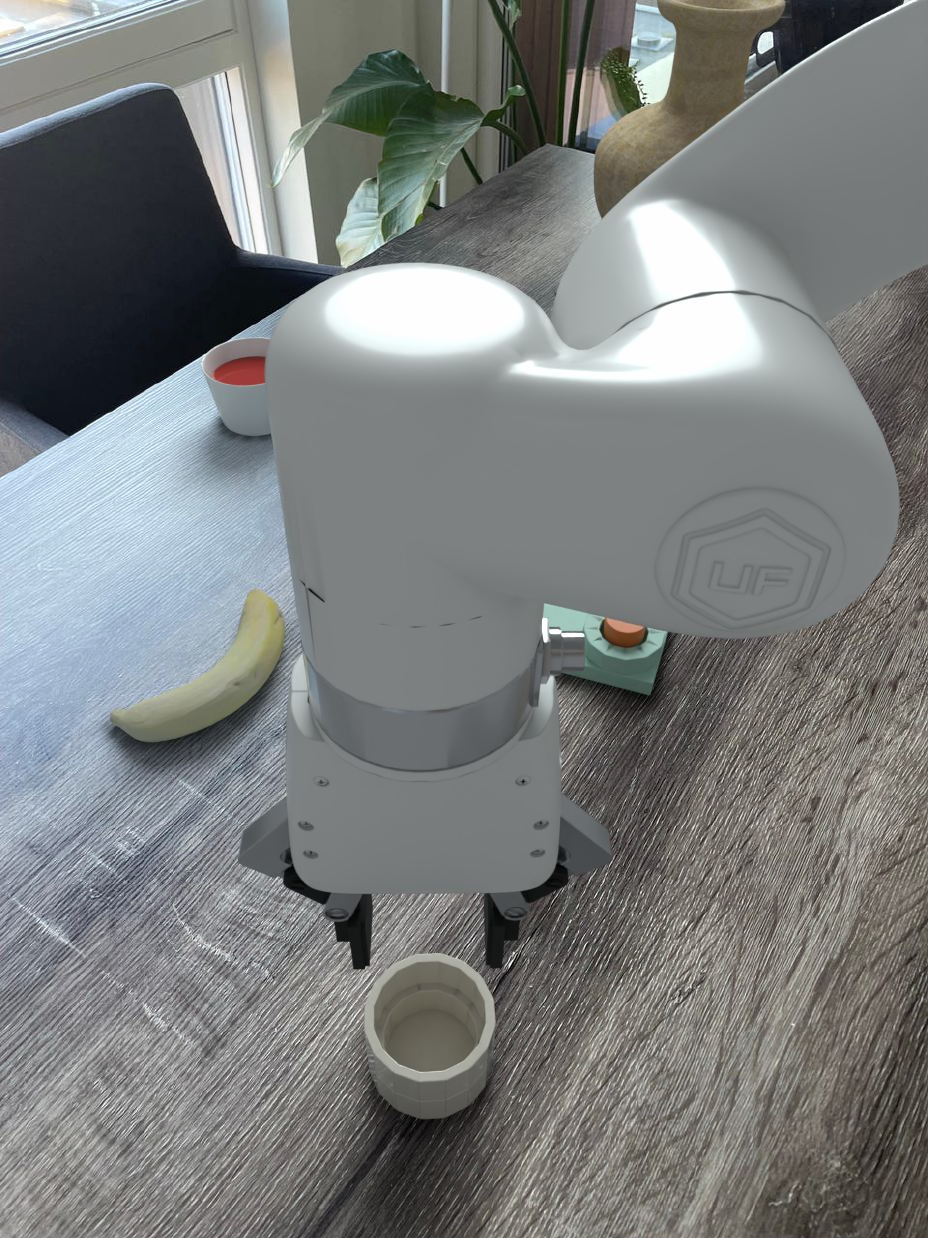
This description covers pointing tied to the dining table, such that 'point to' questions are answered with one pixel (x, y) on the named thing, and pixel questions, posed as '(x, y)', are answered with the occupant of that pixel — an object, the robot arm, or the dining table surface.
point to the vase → (684, 91)
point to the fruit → (214, 680)
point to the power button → (623, 633)
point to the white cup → (430, 1035)
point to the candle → (239, 384)
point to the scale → (611, 651)
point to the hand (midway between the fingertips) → (428, 936)
